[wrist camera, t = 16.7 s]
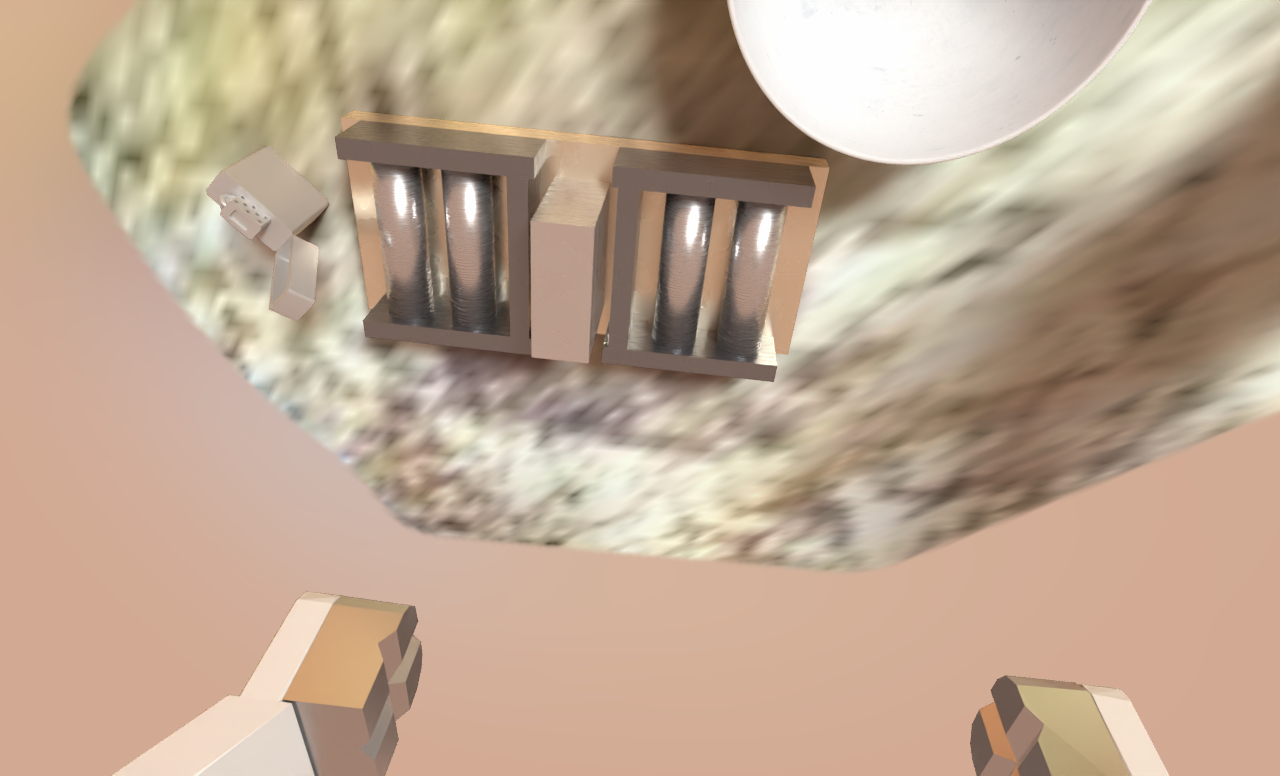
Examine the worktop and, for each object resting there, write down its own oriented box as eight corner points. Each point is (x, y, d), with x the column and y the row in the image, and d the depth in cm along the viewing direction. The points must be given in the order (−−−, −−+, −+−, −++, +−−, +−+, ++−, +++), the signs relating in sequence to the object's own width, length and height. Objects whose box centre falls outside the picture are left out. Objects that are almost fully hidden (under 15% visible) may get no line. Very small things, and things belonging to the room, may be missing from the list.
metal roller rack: (825, 158, 37) (838, 189, 33) (785, 340, 43) (792, 383, 39) (352, 110, 37) (313, 134, 34) (378, 296, 43) (347, 334, 40)
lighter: (249, 165, 40) (156, 220, 33) (267, 143, 39) (175, 196, 32) (355, 259, 42) (289, 329, 36) (373, 242, 42) (309, 308, 35)
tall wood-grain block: (610, 182, 37) (594, 227, 32) (603, 305, 41) (588, 363, 36) (555, 176, 37) (530, 220, 32) (553, 300, 41) (531, 357, 36)
